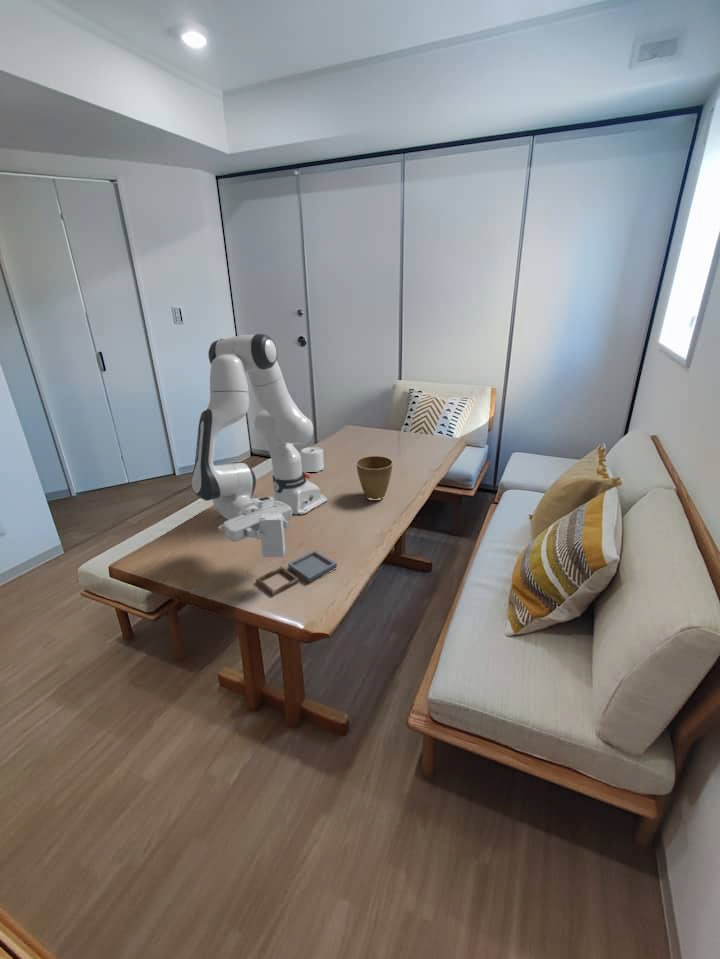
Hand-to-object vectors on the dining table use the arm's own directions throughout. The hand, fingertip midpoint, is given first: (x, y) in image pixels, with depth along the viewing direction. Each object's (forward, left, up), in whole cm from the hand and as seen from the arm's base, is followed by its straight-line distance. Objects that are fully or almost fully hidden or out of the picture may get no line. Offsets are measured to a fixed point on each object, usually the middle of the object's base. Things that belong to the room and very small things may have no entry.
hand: (274, 530), depth 118 cm
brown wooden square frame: (0, -1, -18) cm, 18 cm away
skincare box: (0, -1, -8) cm, 8 cm away
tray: (-11, +1, -18) cm, 21 cm away
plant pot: (-62, -21, -18) cm, 68 cm away
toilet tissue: (-64, -65, -18) cm, 93 cm away
